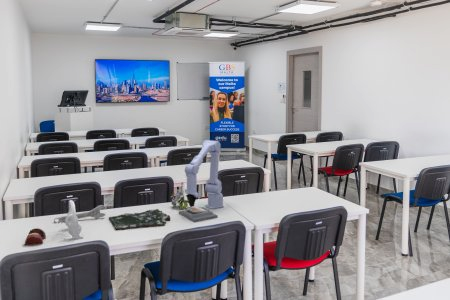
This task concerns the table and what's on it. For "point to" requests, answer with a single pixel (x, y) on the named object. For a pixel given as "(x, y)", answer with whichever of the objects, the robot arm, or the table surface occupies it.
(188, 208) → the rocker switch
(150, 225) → the topographical map
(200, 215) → the grey stepped slab
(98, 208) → the wrench
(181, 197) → the passion flower
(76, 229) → the grey figurine
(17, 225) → the table surface
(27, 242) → the dark brown rounded lump
